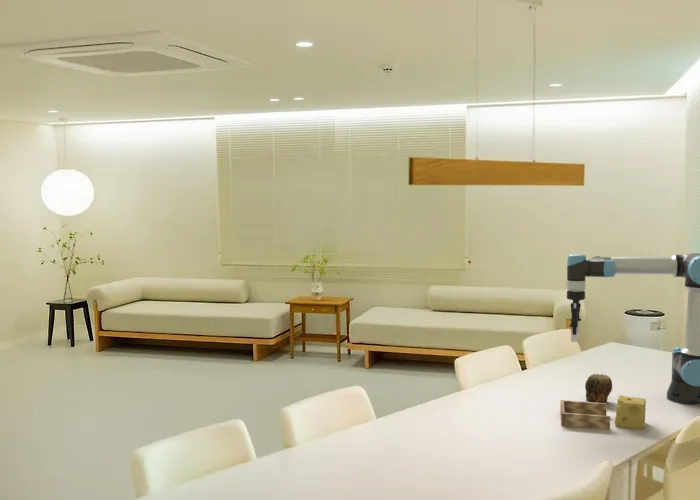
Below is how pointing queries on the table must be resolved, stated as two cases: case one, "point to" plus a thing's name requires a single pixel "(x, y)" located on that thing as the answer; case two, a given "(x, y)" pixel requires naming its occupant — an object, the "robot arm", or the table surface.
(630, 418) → the cheese
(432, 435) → the table surface
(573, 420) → the corral
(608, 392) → the shell
